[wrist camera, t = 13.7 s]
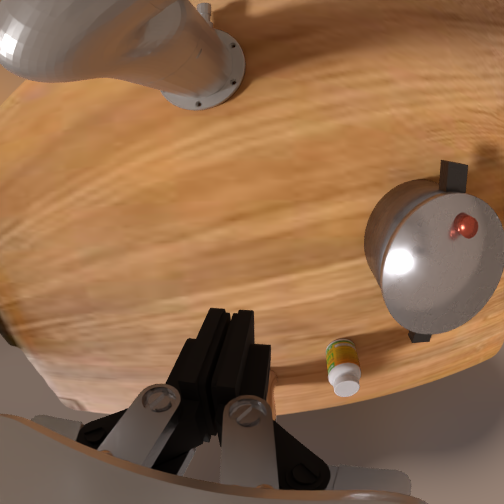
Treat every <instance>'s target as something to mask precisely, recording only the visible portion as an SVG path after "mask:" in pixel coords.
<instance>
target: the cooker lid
mask: <svg viewBox="0 0 504 504" xmlns="http://www.w3.org/2000/svg"><path fill="white" fill-rule="evenodd" d="M503 268H504V230H503V227H502V224H501V222H500V220H499V218H498V216H497V214H496V213H495V212H494V210H493V209H492V208H491V207H490V206H489V205H488V204H487V203H486V202H484V201H483V200H481V199H479V198H477V197H475V196H472V195H470V194H467V193H463V192H444V193H441V194H437V195H434V196H432V197H430V198H428V199H426V200H424V201H423V202H421V203H420V204H418V205H417V206H416V207H414V208H413V209H412V210H411V211H410V212H409V213H408V214H407V215H406V216H405V217H404V218H403V219H402V221H401V222H400V223H399V225H398V226H397V227H396V229H395V231H394V232H393V234H392V235H391V237H390V240H389V242H388V244H387V246H386V249H385V252H384V255H383V259H382V263H381V271H380V285H381V291H382V295H383V298H384V301H385V303H386V306H387V308H388V310H389V312H390V314H391V315H392V316H393V318H394V319H395V320H396V321H397V322H398V323H399V324H400V325H401V326H403V327H404V328H406V329H408V330H410V331H412V332H416V333H420V334H439V333H443V332H447V331H450V330H452V329H455V328H457V327H459V326H461V325H463V324H464V323H466V322H467V321H469V320H470V319H471V318H472V317H474V316H475V315H476V314H477V313H478V312H479V311H480V310H481V309H482V308H483V307H484V306H485V304H486V303H487V302H488V300H489V299H490V298H491V296H492V295H493V293H494V291H495V289H496V287H497V285H498V283H499V281H500V278H501V275H502V272H503Z"/></svg>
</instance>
